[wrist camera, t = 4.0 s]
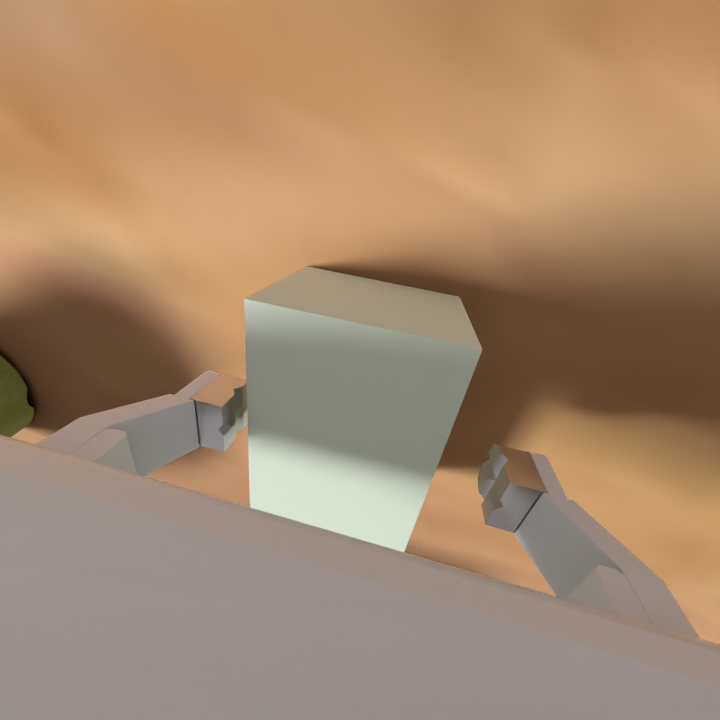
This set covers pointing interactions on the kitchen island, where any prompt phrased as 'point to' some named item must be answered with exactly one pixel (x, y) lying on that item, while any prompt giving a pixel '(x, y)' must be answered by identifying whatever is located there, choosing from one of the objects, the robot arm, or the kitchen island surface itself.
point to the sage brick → (352, 399)
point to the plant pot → (13, 401)
